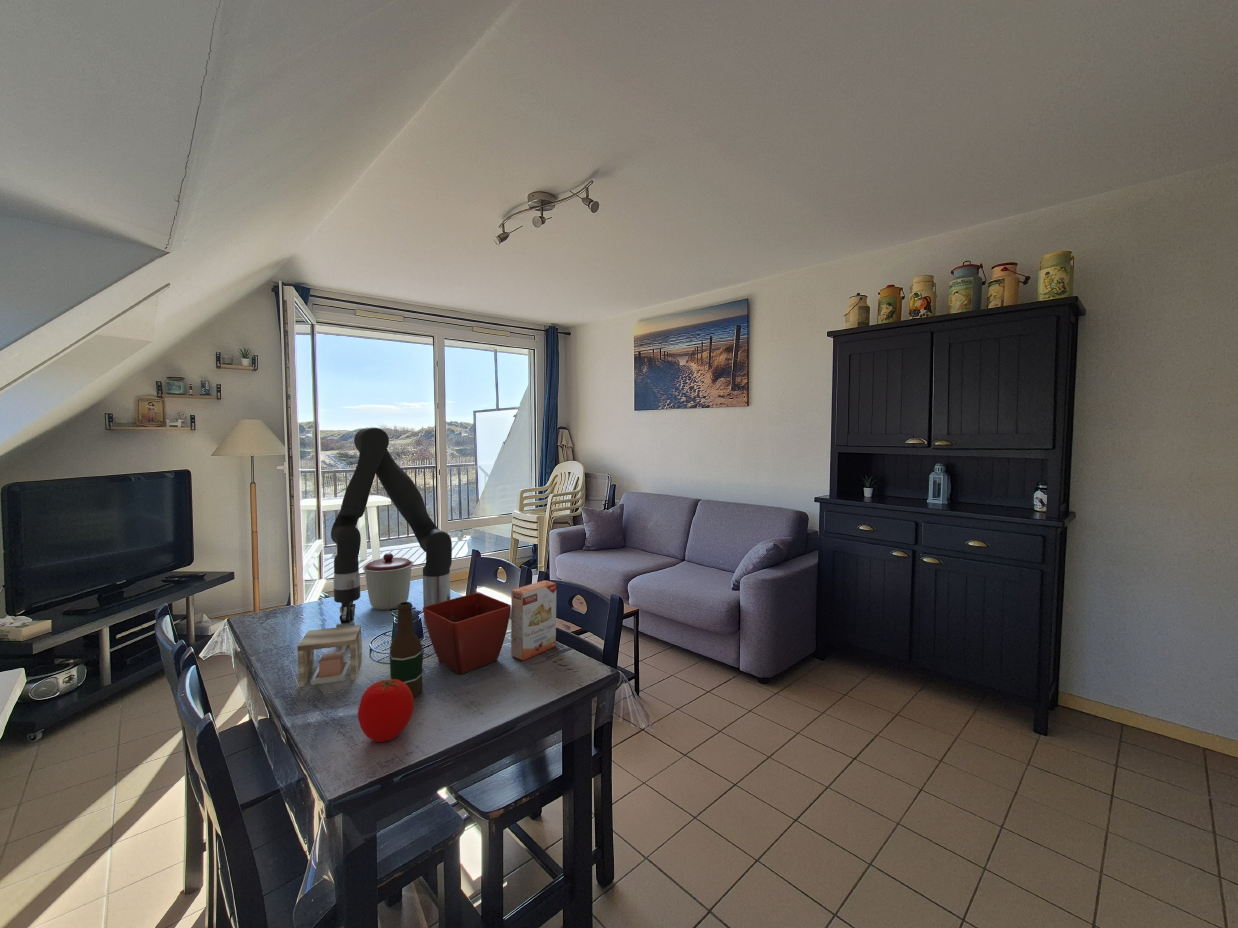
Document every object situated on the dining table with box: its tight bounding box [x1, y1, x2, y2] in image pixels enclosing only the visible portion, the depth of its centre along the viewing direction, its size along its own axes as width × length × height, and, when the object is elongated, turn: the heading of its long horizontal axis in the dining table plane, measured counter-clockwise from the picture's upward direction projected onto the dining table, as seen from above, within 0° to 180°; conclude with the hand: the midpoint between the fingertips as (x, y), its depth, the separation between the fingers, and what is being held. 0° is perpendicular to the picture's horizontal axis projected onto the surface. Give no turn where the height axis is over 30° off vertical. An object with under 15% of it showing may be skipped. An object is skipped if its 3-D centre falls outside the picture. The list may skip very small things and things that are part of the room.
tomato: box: [357, 678, 415, 743], centre depth 111 cm, size 11×11×13 cm
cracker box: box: [510, 580, 557, 662], centre depth 155 cm, size 14×6×21 cm, turn 141°
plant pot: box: [422, 592, 511, 675], centre depth 148 cm, size 19×19×17 cm
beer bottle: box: [389, 601, 423, 698], centre depth 130 cm, size 8×8×24 cm
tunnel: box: [296, 624, 363, 688], centre depth 137 cm, size 11×13×12 cm
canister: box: [362, 552, 414, 611], centre depth 196 cm, size 18×18×21 cm
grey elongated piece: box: [310, 621, 356, 686], centre depth 145 cm, size 27×8×8 cm, turn 20°
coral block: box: [318, 651, 345, 678], centre depth 137 cm, size 5×5×5 cm
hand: (348, 637), depth 162 cm, fingers closed
